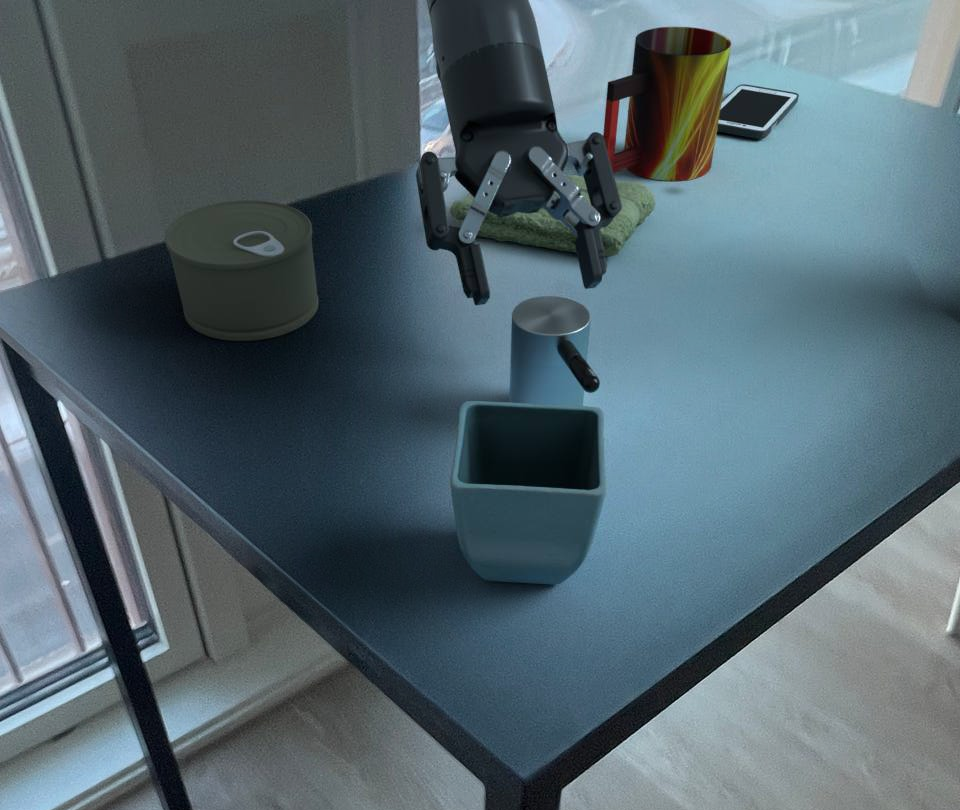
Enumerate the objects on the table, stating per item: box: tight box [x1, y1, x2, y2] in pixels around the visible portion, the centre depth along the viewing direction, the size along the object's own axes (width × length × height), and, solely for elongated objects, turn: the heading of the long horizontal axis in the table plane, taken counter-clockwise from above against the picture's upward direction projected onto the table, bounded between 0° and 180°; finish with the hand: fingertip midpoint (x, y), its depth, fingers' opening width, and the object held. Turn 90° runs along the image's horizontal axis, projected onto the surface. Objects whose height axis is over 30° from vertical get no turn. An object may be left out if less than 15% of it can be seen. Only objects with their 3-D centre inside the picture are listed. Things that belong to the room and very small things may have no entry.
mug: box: [602, 26, 732, 182], centre depth 105 cm, size 10×14×12 cm
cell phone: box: [717, 83, 800, 140], centre depth 120 cm, size 8×15×1 cm, turn 152°
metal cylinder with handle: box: [508, 295, 601, 406], centre depth 72 cm, size 11×6×8 cm, turn 18°
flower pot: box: [449, 400, 608, 585], centre depth 62 cm, size 9×9×9 cm
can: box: [164, 199, 319, 342], centre depth 86 cm, size 12×12×7 cm
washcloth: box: [449, 174, 657, 258], centre depth 99 cm, size 13×18×3 cm
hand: (539, 293), depth 73 cm, fingers open, 8 cm apart
